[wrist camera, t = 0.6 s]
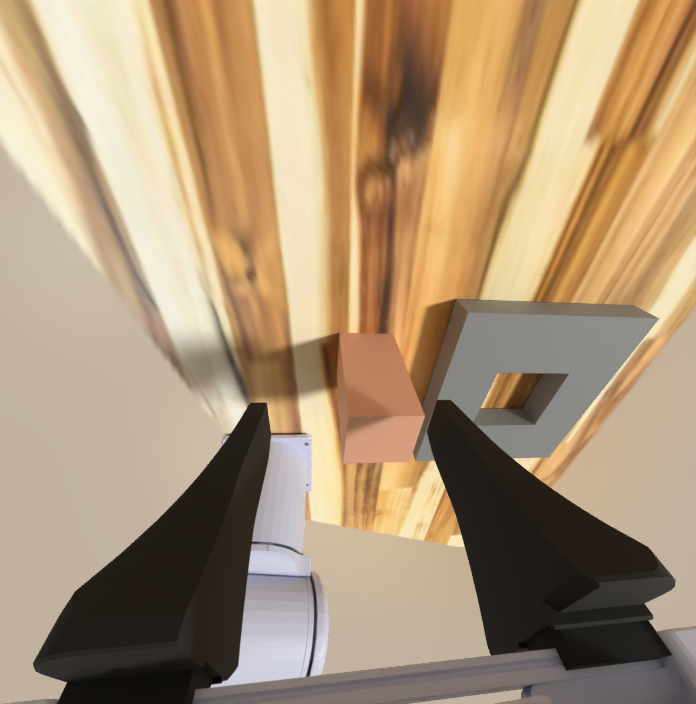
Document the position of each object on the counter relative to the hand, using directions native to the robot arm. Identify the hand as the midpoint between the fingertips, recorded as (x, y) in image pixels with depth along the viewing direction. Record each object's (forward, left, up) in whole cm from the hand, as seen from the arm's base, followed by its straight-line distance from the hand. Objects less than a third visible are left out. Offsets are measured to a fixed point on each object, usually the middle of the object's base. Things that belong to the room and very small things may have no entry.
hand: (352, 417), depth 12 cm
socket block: (-7, -15, -9) cm, 19 cm away
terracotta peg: (-4, -2, -10) cm, 10 cm away
